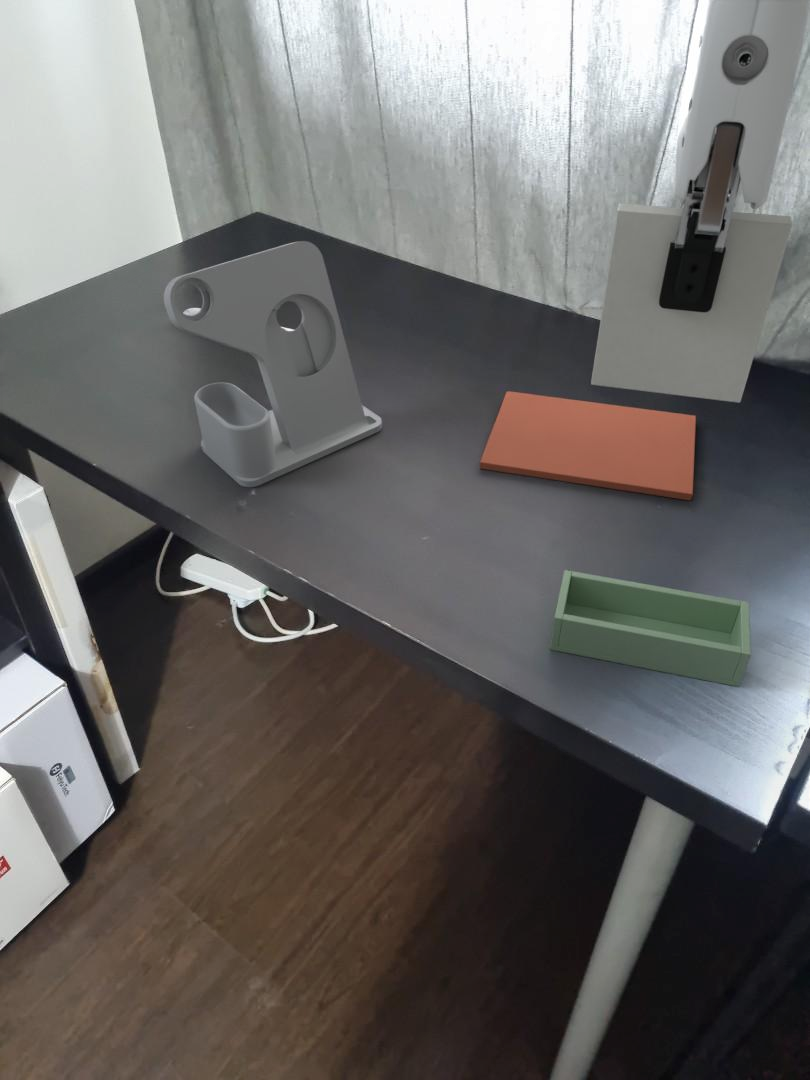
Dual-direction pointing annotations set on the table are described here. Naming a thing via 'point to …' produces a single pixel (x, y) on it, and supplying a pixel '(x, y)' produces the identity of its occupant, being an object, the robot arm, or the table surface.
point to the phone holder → (274, 364)
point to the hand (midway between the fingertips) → (684, 299)
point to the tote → (652, 627)
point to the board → (676, 335)
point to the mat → (594, 445)
